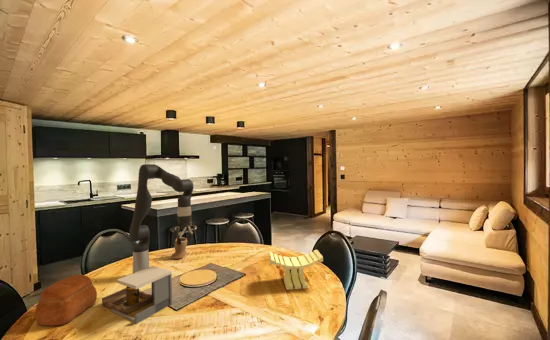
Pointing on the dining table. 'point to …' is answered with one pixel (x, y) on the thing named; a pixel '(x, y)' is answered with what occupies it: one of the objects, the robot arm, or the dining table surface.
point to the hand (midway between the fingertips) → (184, 242)
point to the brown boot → (180, 249)
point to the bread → (65, 300)
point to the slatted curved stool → (295, 267)
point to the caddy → (120, 297)
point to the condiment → (131, 297)
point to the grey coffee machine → (160, 290)
